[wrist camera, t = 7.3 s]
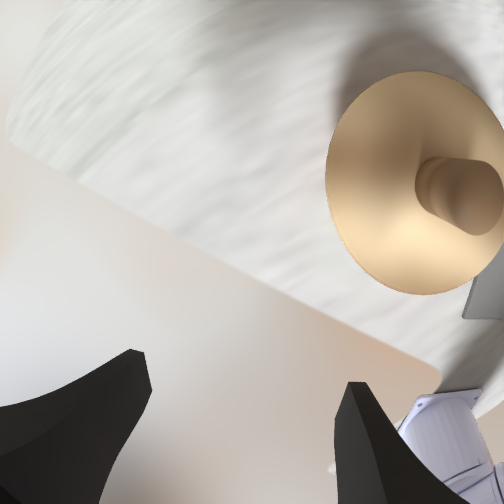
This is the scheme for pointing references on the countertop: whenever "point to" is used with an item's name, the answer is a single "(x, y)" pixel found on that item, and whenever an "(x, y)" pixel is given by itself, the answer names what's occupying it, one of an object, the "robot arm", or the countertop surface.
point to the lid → (418, 182)
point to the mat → (487, 291)
